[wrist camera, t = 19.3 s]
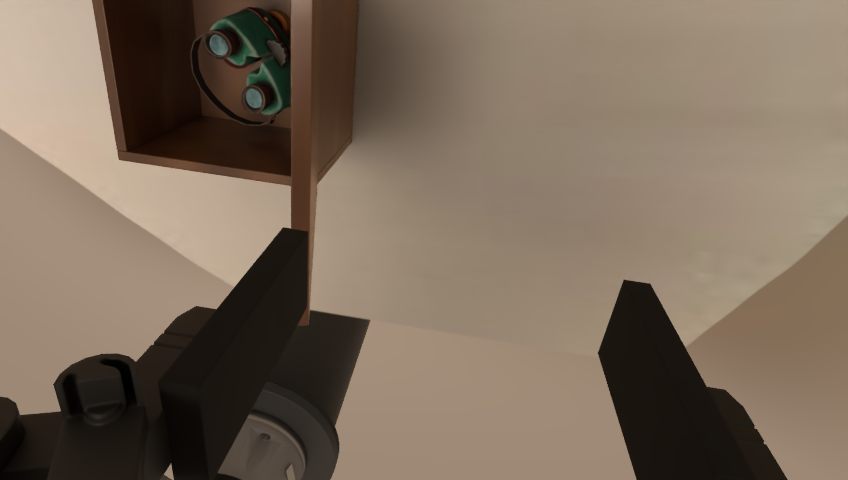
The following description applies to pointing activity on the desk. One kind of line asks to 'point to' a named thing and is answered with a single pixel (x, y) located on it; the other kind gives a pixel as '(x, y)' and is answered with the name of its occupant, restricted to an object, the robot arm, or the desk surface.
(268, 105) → the binoculars
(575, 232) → the desk surface
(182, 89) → the chest
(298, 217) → the lid
